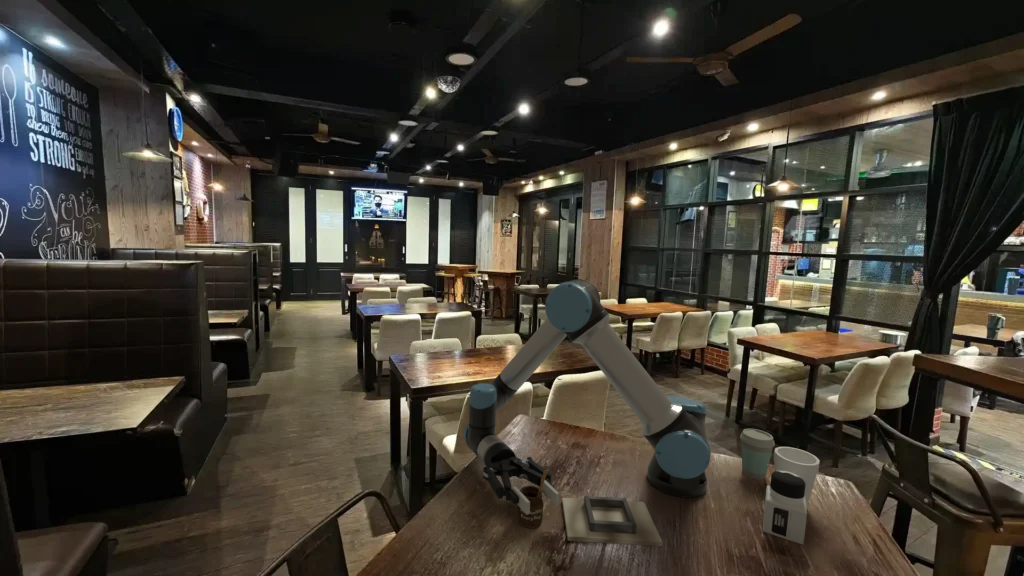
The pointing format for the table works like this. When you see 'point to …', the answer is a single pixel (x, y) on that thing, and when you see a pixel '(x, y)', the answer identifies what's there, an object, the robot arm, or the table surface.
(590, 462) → the table surface
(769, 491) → the container
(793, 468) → the foam cup
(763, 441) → the coffee cup
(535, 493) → the utensil holder
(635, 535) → the collar board
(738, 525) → the table surface
